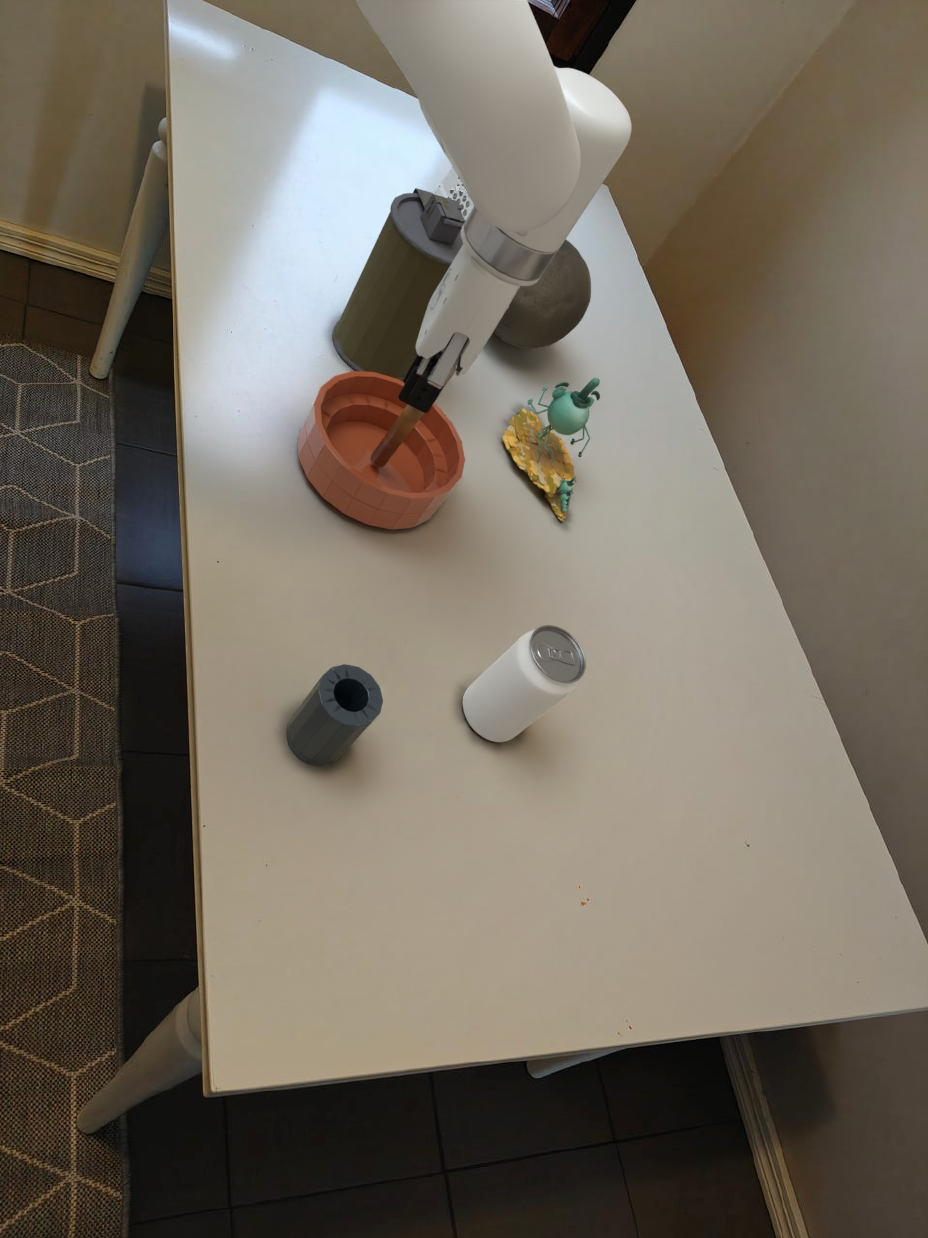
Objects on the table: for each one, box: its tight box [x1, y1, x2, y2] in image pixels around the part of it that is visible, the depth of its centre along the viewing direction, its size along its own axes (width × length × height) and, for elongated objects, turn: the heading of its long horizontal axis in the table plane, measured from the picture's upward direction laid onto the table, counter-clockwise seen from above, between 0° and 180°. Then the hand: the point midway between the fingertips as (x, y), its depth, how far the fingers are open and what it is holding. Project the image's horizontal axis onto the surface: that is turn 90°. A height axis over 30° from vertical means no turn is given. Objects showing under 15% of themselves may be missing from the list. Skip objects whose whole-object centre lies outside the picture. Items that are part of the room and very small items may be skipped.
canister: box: [331, 187, 466, 382], centre depth 94 cm, size 11×10×20 cm
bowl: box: [297, 370, 466, 530], centre depth 88 cm, size 16×16×6 cm
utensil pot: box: [286, 663, 384, 766], centre depth 68 cm, size 5×5×8 cm
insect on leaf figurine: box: [501, 377, 601, 522], centre depth 100 cm, size 10×18×15 cm, turn 5°
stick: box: [370, 367, 457, 468], centre depth 84 cm, size 2×2×16 cm
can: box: [462, 624, 587, 743], centre depth 77 cm, size 6×6×12 cm
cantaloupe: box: [493, 238, 592, 349], centre depth 110 cm, size 14×14×15 cm
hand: (415, 395), depth 82 cm, fingers closed on stick, 1 cm apart
